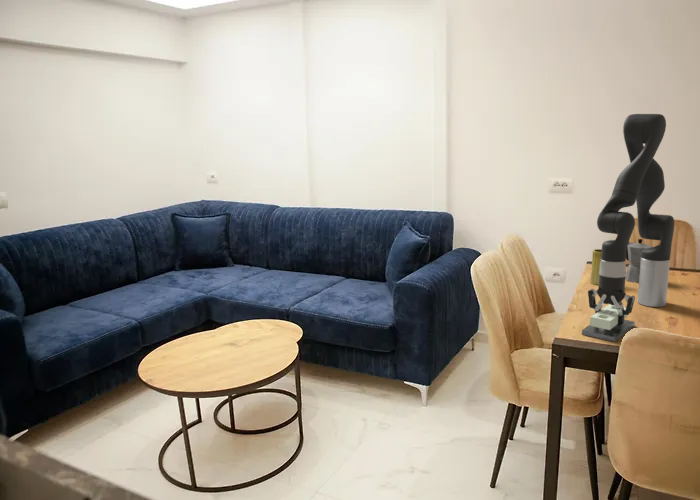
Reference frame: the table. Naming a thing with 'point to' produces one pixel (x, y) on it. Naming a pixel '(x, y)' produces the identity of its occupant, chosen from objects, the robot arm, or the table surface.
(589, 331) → the base
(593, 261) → the vase
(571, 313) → the table surface
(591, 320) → the flange bar
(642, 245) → the coffeepot
